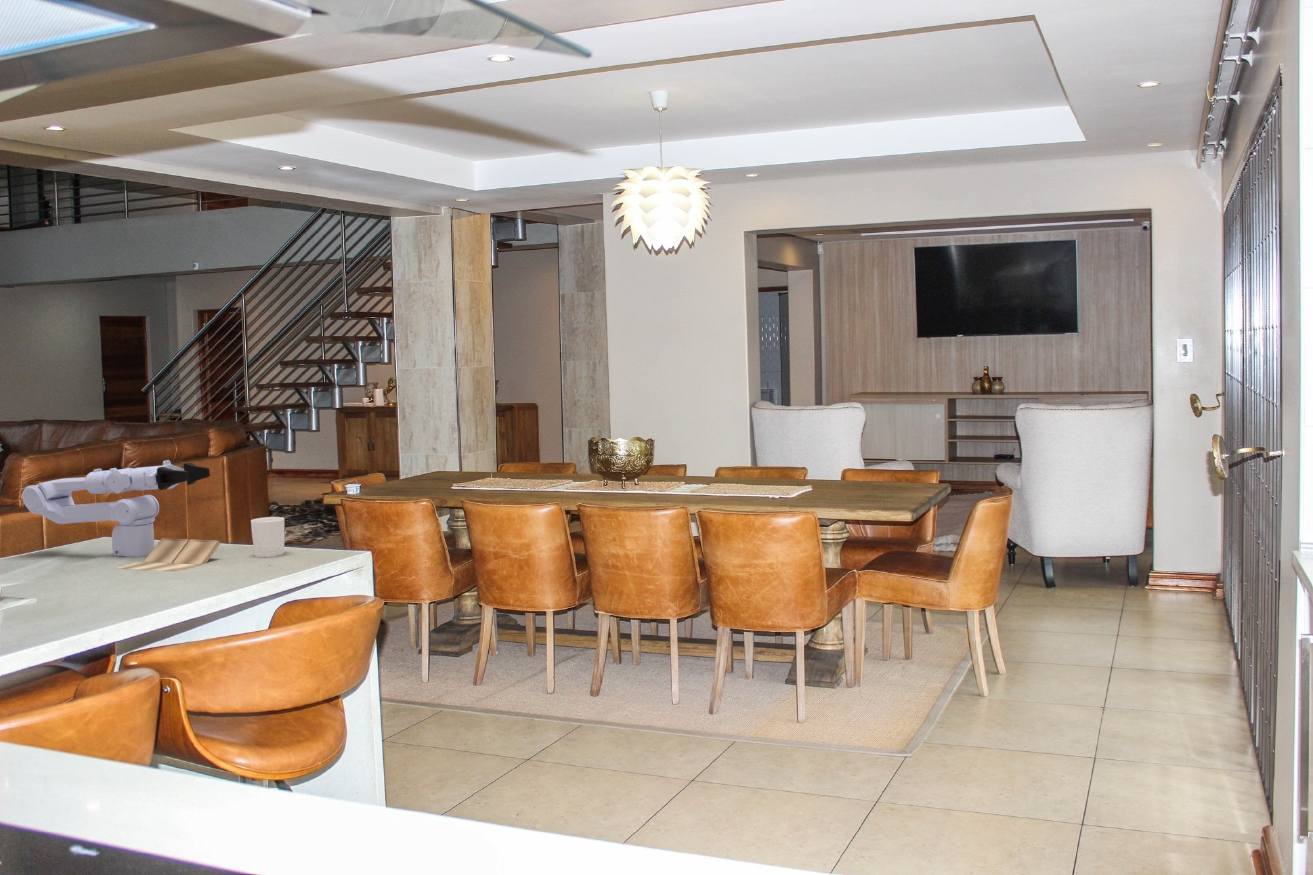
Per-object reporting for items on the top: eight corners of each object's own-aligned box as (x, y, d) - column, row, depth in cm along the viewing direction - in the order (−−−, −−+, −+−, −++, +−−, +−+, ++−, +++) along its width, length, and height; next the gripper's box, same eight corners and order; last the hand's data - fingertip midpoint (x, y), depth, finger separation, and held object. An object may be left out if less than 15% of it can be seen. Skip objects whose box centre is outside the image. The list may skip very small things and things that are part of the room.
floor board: (115, 573, 268) (114, 568, 268) (139, 566, 276) (139, 561, 276) (178, 576, 263) (178, 571, 263) (201, 569, 270) (201, 564, 270)
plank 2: (175, 566, 274) (172, 562, 273) (192, 542, 280) (190, 539, 279) (202, 567, 271) (200, 564, 271) (219, 544, 277) (217, 540, 277)
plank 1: (146, 565, 276) (143, 561, 276) (163, 541, 282) (161, 538, 281) (173, 566, 274) (170, 562, 273) (190, 542, 280) (188, 539, 279)
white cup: (291, 556, 286) (289, 516, 285) (278, 562, 278) (276, 521, 277) (261, 556, 287) (259, 516, 286) (247, 562, 279) (245, 522, 278)
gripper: (129, 465, 276) (175, 461, 272) (171, 458, 290) (215, 454, 286) (133, 493, 277) (179, 490, 272) (174, 486, 290) (219, 482, 286)
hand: (198, 474), depth 279 cm, fingers open, 7 cm apart
